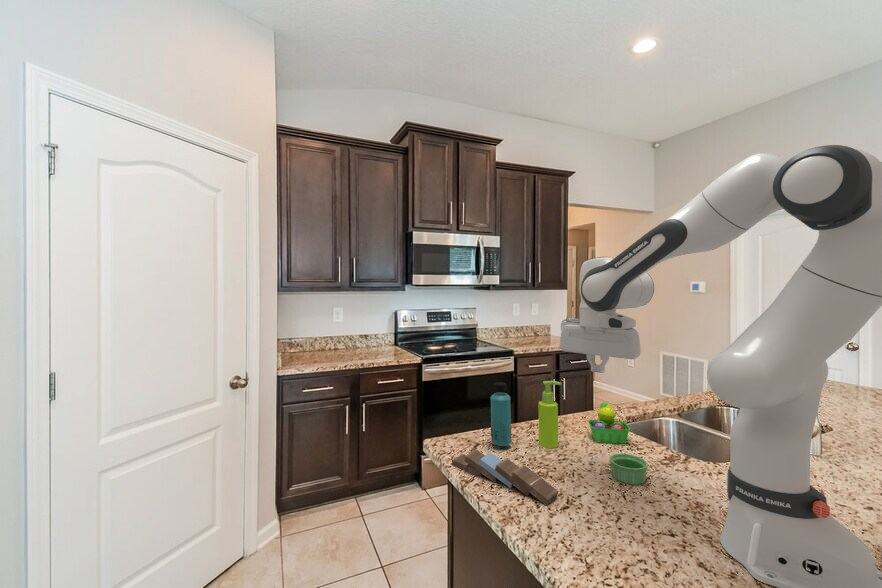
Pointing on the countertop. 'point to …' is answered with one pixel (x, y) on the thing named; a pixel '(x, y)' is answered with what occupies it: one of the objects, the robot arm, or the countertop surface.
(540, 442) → the soap dispenser
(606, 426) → the fruit basket
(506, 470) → the domino
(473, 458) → the domino
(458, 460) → the domino
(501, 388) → the beverage bottle
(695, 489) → the countertop surface
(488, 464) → the domino
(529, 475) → the domino
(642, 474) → the ramekin
